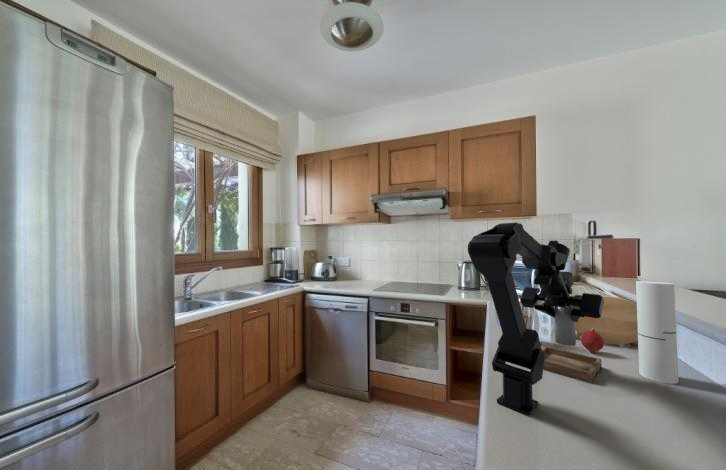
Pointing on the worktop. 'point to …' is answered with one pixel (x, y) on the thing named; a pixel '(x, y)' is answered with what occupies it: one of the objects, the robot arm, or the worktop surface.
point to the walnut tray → (571, 364)
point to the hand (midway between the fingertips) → (566, 319)
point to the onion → (592, 341)
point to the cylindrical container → (657, 331)
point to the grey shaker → (564, 326)
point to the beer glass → (527, 315)
